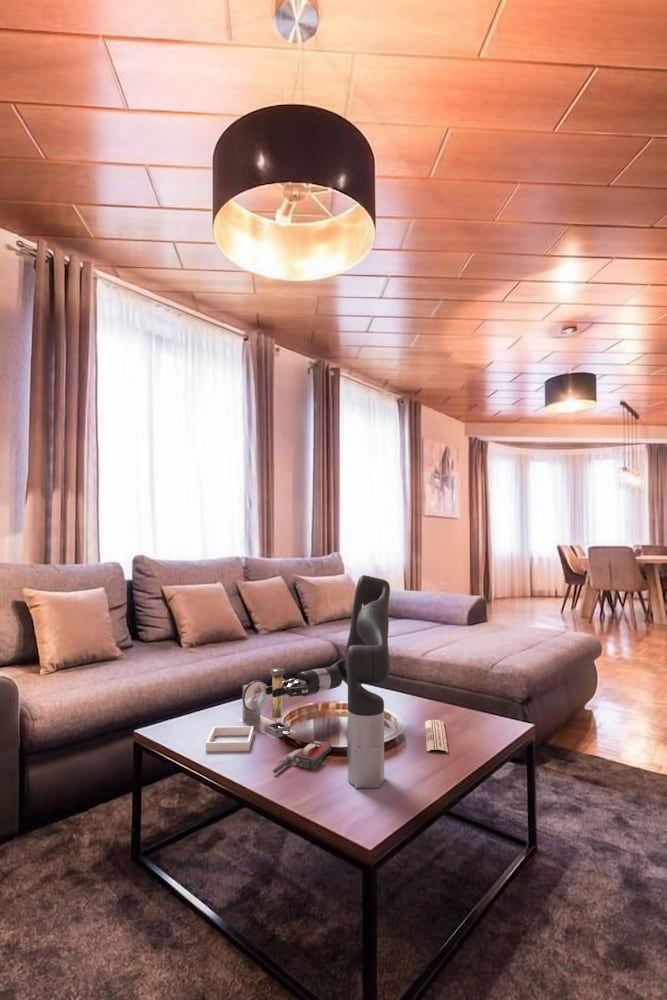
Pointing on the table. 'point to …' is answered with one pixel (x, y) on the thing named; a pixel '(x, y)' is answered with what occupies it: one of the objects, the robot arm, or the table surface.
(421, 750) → the table surface
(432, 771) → the table surface
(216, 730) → the parts tray
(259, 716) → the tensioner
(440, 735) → the newspaper
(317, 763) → the walkie-talkie
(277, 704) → the lock pin
